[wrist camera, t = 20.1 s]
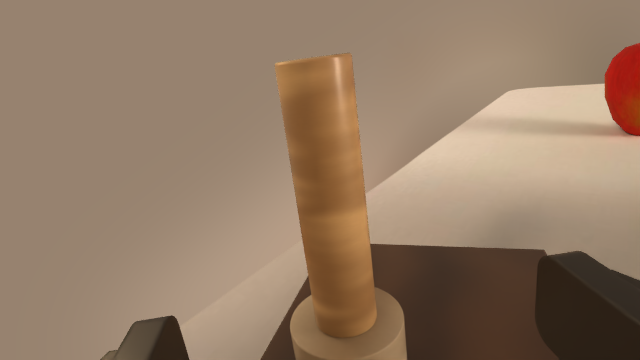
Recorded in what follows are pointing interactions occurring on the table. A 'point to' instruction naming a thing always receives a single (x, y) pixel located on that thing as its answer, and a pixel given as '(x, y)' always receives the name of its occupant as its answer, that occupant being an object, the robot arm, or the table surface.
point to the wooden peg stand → (334, 218)
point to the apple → (624, 89)
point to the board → (452, 302)
